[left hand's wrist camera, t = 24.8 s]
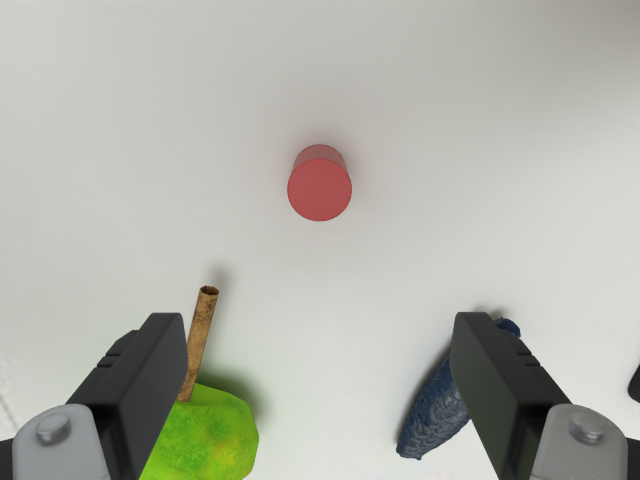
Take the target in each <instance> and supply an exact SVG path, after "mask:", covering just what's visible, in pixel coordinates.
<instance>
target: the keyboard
mask: <svg viewBox="0 0 640 480" xmlns="http://www.w3.org/2000/svg"><path fill="white" fill-rule="evenodd" d="M629 394H630V397H631V398H632V399H634V400H635V401H637V402H639V403H640V368H639V370H638V372H637V373H636V375H635V377H634V379H633V381H632V382H631V385H630V388H629Z"/></svg>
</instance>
